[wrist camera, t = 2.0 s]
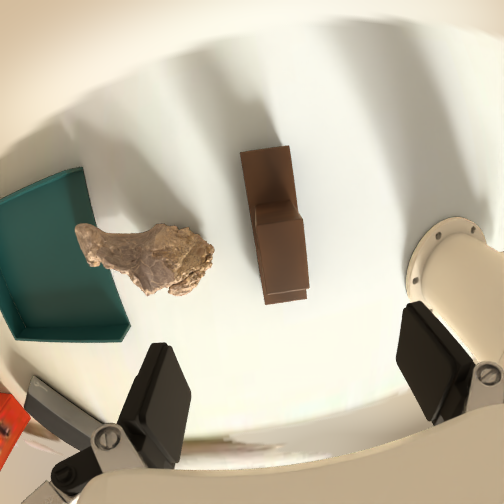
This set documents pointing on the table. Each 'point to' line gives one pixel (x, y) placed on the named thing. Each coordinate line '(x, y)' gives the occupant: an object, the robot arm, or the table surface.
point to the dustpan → (54, 267)
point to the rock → (150, 256)
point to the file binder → (10, 424)
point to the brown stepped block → (276, 224)
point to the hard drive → (59, 415)
